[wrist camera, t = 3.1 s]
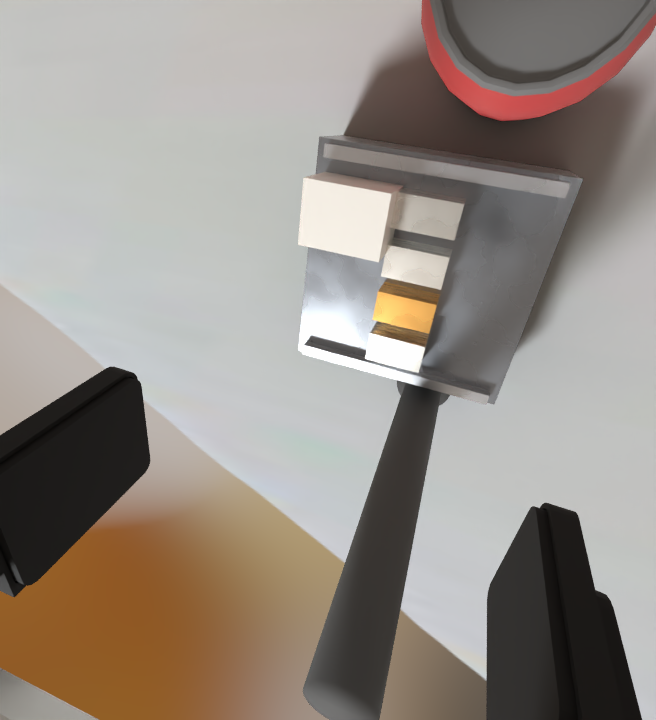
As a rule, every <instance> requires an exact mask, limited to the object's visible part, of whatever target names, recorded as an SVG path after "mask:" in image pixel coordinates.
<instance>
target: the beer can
mask: <svg viewBox="0 0 656 720" xmlns="http://www.w3.org/2000/svg"><path fill="white" fill-rule="evenodd" d="M421 24H422V28H423V32H424V36H425V41H426V45H427V49H428V53H429V57H430V61H431V63H432V64H433V66H434V67H435V69H436V71H437V72H438V74H439V76H440V77H441V79H442V80H443V82H444V84H445V85H446V87H447V88H448V90H449V91H450V92H451V93H453V94H454V95H455V96H456V97H458V98H459V99H460V100H461V101H463V102H464V103H465V104H466V105H468V106H469V107H470V108H472V109H473V110H474V111H475V112H477V113H478V114H479V115H481V116H484V117H488V118H491V119H495V120H498V121H512V120H525V119H530V118H536V117H541V116H544V115H547V114H549V113H552V112H554V111H557V110H559V109H562V108H564V107H567V106H570V105H572V104H575V103H577V102H580V101H581V100H583V99H584V98H585V97H587V96H588V95H589V94H591V93H592V92H594V91H595V90H596V89H598V88H599V87H600V86H602V85H603V84H604V83H606V82H607V81H609V80H610V79H611V78H613V77H614V76H615V75H617V74H618V73H619V72H620V70H621V69H622V68H623V67H624V66H625V65H626V63H627V62H628V61H629V60H630V59H631V57H632V56H633V55H634V54H635V53H636V52H637V50H638V49H639V48H640V47H641V46H642V45H643V43H644V42H645V41H646V40H647V39H648V38H649V36H650V35H651V33H652V31H653V30H654V28H655V26H656V0H422V19H421Z"/></svg>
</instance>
